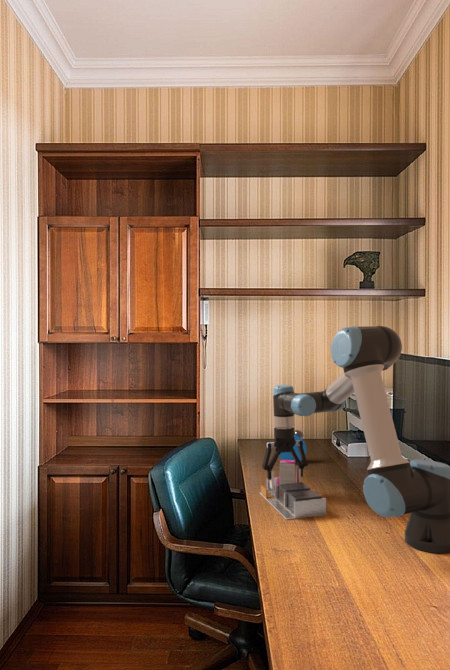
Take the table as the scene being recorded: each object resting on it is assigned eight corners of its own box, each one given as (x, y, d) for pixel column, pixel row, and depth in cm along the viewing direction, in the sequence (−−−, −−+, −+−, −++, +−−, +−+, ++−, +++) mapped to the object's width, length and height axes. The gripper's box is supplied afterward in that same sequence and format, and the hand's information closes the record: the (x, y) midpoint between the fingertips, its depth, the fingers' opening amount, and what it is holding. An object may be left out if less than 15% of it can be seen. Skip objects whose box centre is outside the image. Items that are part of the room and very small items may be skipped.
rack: (326, 515, 176) (326, 497, 176) (286, 519, 172) (285, 501, 172) (294, 489, 204) (294, 474, 204) (259, 493, 200) (259, 477, 200)
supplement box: (295, 495, 194) (294, 463, 194) (278, 494, 195) (278, 463, 195) (296, 490, 200) (295, 459, 200) (280, 489, 201) (279, 459, 201)
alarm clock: (304, 460, 247) (304, 428, 247) (307, 464, 241) (306, 431, 241) (276, 461, 247) (275, 429, 247) (278, 464, 241) (277, 431, 240)
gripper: (308, 423, 203) (309, 481, 204) (252, 427, 198) (253, 486, 198) (316, 426, 196) (317, 486, 196) (258, 430, 191) (259, 492, 191)
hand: (285, 486), depth 197 cm, fingers open, 10 cm apart
